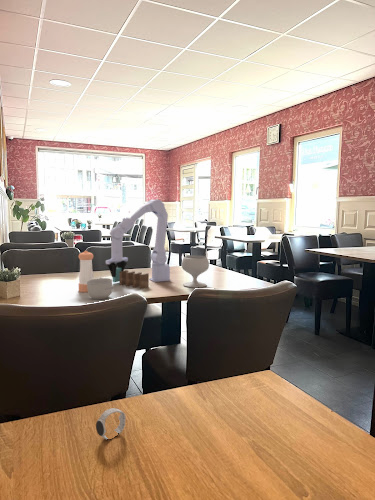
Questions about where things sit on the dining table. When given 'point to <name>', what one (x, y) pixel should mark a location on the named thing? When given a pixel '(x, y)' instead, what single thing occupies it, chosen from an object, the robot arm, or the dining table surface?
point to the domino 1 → (117, 275)
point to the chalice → (195, 269)
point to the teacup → (99, 288)
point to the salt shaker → (85, 270)
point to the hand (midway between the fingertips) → (117, 276)
